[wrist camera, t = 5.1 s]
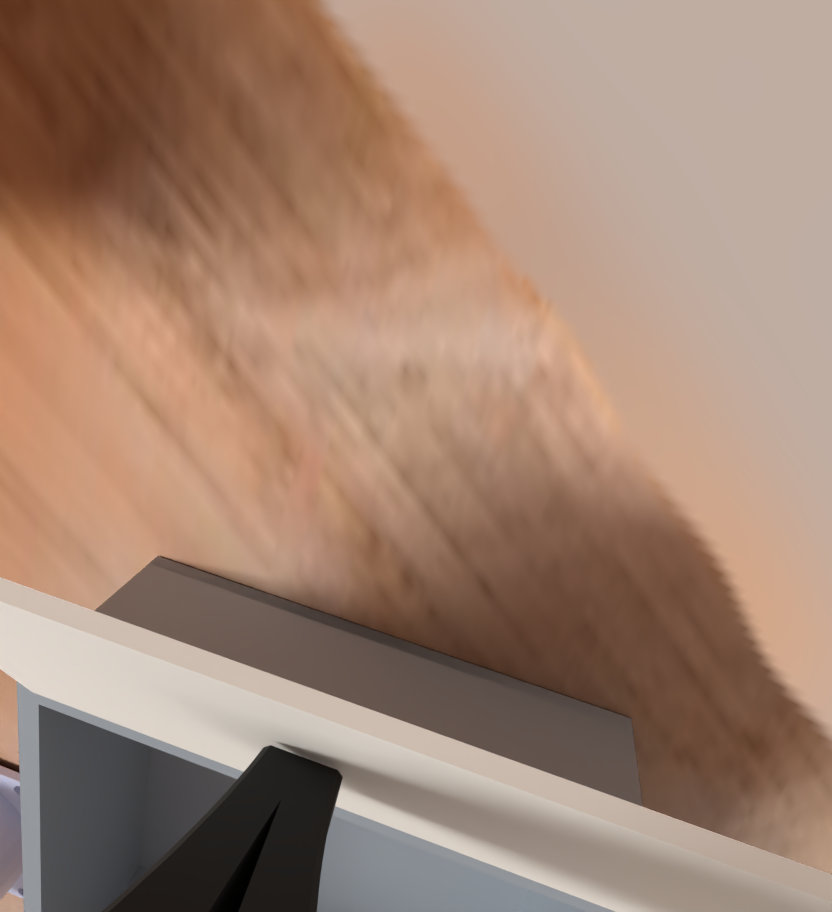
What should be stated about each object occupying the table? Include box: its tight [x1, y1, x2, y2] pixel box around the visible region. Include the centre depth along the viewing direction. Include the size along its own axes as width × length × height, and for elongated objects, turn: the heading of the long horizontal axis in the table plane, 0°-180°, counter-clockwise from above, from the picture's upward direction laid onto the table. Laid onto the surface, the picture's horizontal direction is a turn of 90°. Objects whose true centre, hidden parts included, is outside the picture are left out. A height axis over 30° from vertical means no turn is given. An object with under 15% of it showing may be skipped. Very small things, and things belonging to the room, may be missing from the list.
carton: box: [17, 556, 643, 912], centre depth 21 cm, size 16×16×6 cm
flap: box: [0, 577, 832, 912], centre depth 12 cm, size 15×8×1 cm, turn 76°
